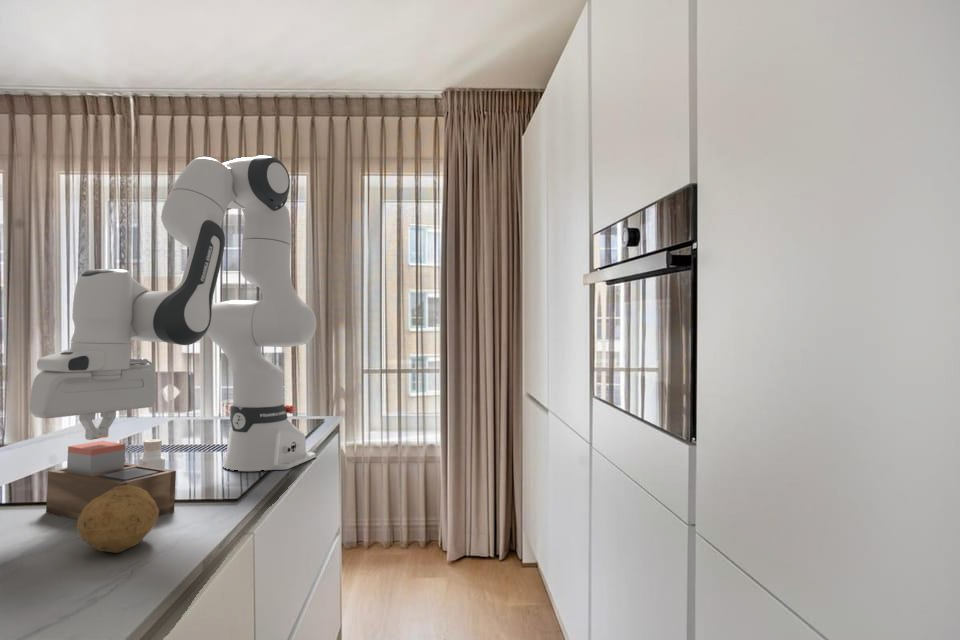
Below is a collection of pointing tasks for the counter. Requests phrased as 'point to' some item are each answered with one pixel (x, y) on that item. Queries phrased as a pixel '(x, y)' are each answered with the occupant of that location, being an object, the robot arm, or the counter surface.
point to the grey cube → (128, 474)
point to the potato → (118, 518)
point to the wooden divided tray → (105, 489)
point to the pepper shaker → (152, 454)
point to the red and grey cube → (95, 457)
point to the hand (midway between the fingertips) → (96, 438)
